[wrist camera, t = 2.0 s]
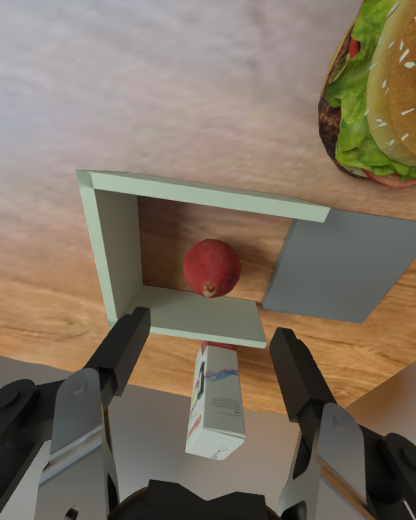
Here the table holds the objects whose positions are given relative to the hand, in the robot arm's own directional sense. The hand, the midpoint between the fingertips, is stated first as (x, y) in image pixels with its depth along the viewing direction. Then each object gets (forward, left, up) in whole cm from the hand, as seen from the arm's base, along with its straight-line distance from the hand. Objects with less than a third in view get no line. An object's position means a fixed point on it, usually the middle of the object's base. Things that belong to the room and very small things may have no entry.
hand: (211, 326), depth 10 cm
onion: (0, 0, -11) cm, 11 cm away
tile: (+15, 0, -11) cm, 18 cm away
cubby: (-1, 0, -11) cm, 11 cm away
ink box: (+3, -18, -11) cm, 21 cm away
